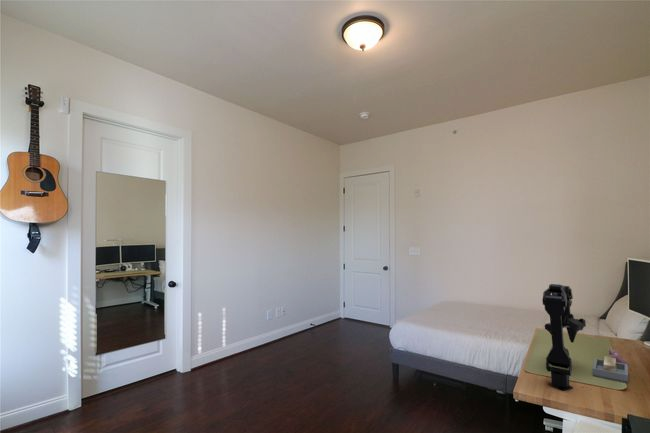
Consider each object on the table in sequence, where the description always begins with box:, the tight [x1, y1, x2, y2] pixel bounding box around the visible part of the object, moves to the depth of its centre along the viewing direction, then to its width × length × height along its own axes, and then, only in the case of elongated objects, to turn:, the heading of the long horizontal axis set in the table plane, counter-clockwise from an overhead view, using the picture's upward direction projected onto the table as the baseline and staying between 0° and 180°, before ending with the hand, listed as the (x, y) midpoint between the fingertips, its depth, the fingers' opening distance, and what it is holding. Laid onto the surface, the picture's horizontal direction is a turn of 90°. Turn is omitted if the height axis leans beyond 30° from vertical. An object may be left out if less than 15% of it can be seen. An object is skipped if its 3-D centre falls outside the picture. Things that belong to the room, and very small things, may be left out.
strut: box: [603, 356, 617, 372], centre depth 155 cm, size 4×12×5 cm, turn 138°
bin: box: [592, 358, 629, 384], centre depth 155 cm, size 15×12×4 cm
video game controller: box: [607, 349, 629, 365], centre depth 168 cm, size 10×5×7 cm, turn 152°
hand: (565, 343), depth 162 cm, fingers open, 9 cm apart
